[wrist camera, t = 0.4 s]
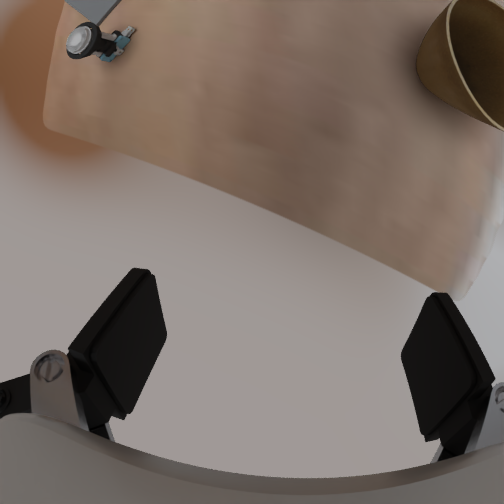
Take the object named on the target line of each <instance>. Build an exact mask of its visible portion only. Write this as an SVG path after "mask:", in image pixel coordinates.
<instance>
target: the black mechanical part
mask: <svg viewBox="0 0 504 504" xmlns="http://www.w3.org/2000/svg"><path fill="white" fill-rule="evenodd" d="M89 28H92V29H89ZM128 28H129V30H128ZM128 28H127V29H126V30H125V31H123V32H122V33H121V32H120V31H117V30H115V31H114V32H113V33H112V34H108V33H104V32H101V31H100V28H99V27H98V26H96V24H94V23H92V22H85V23H82V24H80V25H79V26H78V27H76V28H75V30H74V31H72V32H71V34H70V35H69V37H68V39H67V43H66V46H67V54H68V56H69V57H70V58H72V59H81V58H84V57H87V56H90V55H91V54H92V55H96V56H97V57H99V58H100V59H101V60H102V61H108V62H111V61H112V60H113V59H114V57H115V56H116V55H121V54H122V52H123V51H124V50H122V49H123V48H124V47H125V46H126V44H127V43H128V42H129V41H130V39H129V38H128V37H129V36H130V34H131V33H132V32H133V31H134V30H135V29H134V28H133V27H132V28H131V27H130V26H129V27H128ZM131 30H133V31H132V32H131ZM120 51H121V53H119V52H120ZM79 53H81V54H79Z"/></svg>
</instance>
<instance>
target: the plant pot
mask: <svg viewBox="0 0 504 504" xmlns="http://www.w3.org/2000/svg"><path fill="white" fill-rule="evenodd" d="M416 69H417V73H418V76H419V78H420V80H421V82H422V83H423V84H424V86H425V87H426V88H427V89H428V90H429V91H430V92H432V93H433V94H434V95H436V96H437V97H438V98H440V99H441V100H443V101H444V102H446V103H448V104H449V105H451V106H453V107H454V108H456V109H458V110H460V111H462V112H463V113H465V114H467V115H469V116H471V117H473V118H475V119H478V120H480V121H482V122H484V123H486V124H488V125H491V126H493V127H495V128H497V129H499V130H502V131H504V8H503V7H502V6H501V5H499V4H498V3H497V2H495V1H493V0H453V1H452V2H451V3H450V4H449V5H448V6H447V7H446V8H445V9H444V10H443V11H442V13H441V14H440V15H439V16H438V17H437V19H436V20H435V21H434V22H433V24H432V25H431V27H430V28H429V30H428V32H427V34H426V35H425V37H424V39H423V42H422V44H421V46H420V49H419V52H418V56H417V61H416Z"/></svg>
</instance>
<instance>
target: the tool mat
mask: <svg viewBox="0 0 504 504" xmlns="http://www.w3.org/2000/svg"><path fill="white" fill-rule="evenodd" d="M120 1H121V0H65V2H67V3H68V4H69V5H71V6H72V7H73V8H75V9H76V10H77V11H78V12H80V13H81V14H82V15H84V16H85V17H86V18H87V19H89V20H90V21H91V22H92V23H94V24H96V26H99V25H100V24H101V23H102V21H103V20H104V19H105V18H106V17H107V16H108V14H109V13H110V12H111V11H112V10H113V9H114V8H115V6H116V5H117V4H118V3H119V2H120Z"/></svg>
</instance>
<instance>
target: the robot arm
mask: <svg viewBox="0 0 504 504" xmlns="http://www.w3.org/2000/svg"><path fill="white" fill-rule="evenodd" d="M166 338H167V331H166V327H165V322H164V318H163V313H162V309H161V304H160V299H159V295H158V290H157V284H156V279H155V276H154V275H153V274H151V272H150V271H149V270H148V269H140V268H132V269H131V270H130V271H129V273H128V274H127V275H126V276H125V277H124V278H123V279H122V281H121V282H120V283H119V284H118V285H117V287H116V288H115V289H114V290H113V291H112V292H111V294H110V295H109V296H108V297H107V299H106V300H105V301H104V302H103V303H102V305H101V306H100V307H99V308H98V310H97V311H96V312H95V313H94V315H93V316H92V317H91V318H90V320H89V321H88V322H87V324H86V325H85V326H84V327H83V329H82V330H81V331H80V333H79V334H78V335H77V337H76V338H75V339H74V341H73V342H72V343H71V345H70V346H69V347H68V350H69V353H68V354H67V355H65V353H63V352H61V351H59V350H49V351H46V352H44V353H42V354H40V355H39V356H38V357H37V358H36V359H35V360H34V361H33V363H32V365H31V369H30V374H27V375H24V376H21V377H18V378H15V379H12V380H8V381H5V382H2V383H0V504H504V383H499V384H496V385H495V386H494V387H493V388H492V385H491V384H492V383H493V381H494V380H495V377H494V374H493V372H492V370H491V368H490V366H489V364H488V362H487V360H486V358H485V356H484V354H483V352H482V350H481V348H480V347H479V345H478V343H477V341H476V339H475V337H474V335H473V334H472V332H471V330H470V328H469V327H468V325H467V323H466V322H465V320H464V318H463V316H462V315H461V313H460V312H459V310H458V308H457V307H456V305H455V304H454V302H453V300H452V299H451V297H450V296H449V295H448V293H438V292H434V293H432V294H431V295H430V296H429V297H427V299H426V300H425V303H424V305H423V307H422V310H421V312H420V314H419V316H418V319H417V321H416V323H415V325H414V327H413V329H412V331H411V334H410V335H409V338H408V340H407V342H406V343H405V346H404V348H403V350H402V352H401V360H402V363H403V367H404V370H405V373H406V377H407V380H408V383H409V387H410V391H411V395H412V399H413V403H414V407H415V410H416V415H417V419H418V424H419V428H420V432H421V434H422V435H424V437H425V442H428V441H433V440H437V439H439V438H440V441H441V444H440V446H439V448H438V450H437V452H436V453H435V456H434V457H433V459H432V461H431V463H430V464H427V465H423V466H418V467H413V468H409V469H404V470H399V471H392V472H386V473H379V474H372V475H363V476H353V477H339V478H280V477H265V476H254V475H245V474H238V473H231V472H224V471H218V470H213V469H207V468H202V467H197V466H193V465H189V464H184V463H180V462H176V461H172V460H169V459H165V458H161V457H158V456H155V455H151V454H148V453H145V452H142V451H139V450H136V449H133V448H130V447H127V446H124V445H121V444H119V443H116V442H115V440H114V437H113V434H112V432H111V429H110V426H109V420H110V418H111V416H114V417H116V418H119V419H122V420H124V419H125V417H126V415H127V414H130V413H131V412H132V411H133V409H134V407H135V405H136V403H137V400H138V398H139V396H140V394H141V392H142V389H143V387H144V385H145V383H146V381H147V379H148V376H149V375H150V372H151V370H152V368H153V366H154V364H155V362H156V360H157V358H158V356H159V354H160V351H161V349H162V347H163V345H164V343H165V341H166Z"/></svg>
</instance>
